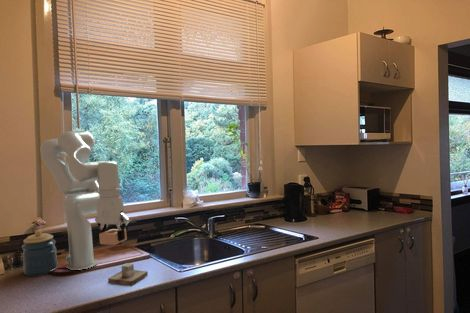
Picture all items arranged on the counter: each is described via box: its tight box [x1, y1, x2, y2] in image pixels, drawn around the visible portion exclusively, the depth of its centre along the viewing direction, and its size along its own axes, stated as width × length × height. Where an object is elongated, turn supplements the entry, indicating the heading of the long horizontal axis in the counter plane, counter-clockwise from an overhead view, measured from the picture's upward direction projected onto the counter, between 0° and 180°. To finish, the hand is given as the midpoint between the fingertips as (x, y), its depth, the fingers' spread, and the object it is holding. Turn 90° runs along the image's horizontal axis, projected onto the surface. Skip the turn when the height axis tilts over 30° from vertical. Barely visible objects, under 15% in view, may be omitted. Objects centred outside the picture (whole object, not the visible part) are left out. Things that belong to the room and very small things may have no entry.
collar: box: [98, 228, 128, 246], centre depth 141 cm, size 7×7×4 cm
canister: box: [21, 230, 59, 277], centre depth 157 cm, size 13×13×18 cm
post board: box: [107, 262, 149, 286], centre depth 144 cm, size 11×10×6 cm
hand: (113, 239), depth 141 cm, fingers closed on collar, 7 cm apart
